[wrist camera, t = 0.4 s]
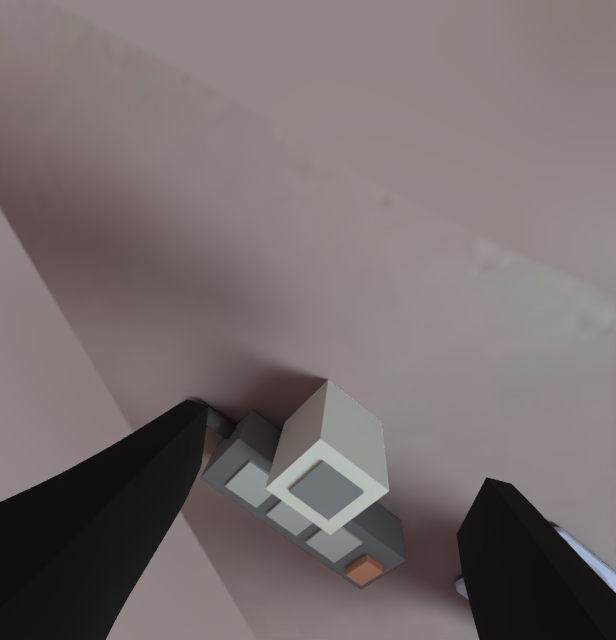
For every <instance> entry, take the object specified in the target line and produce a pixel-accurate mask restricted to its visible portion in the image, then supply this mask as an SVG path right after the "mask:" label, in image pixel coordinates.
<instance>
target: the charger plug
mask: <svg viewBox="0 0 616 640" xmlns="http://www.w3.org/2000/svg"><path fill="white" fill-rule="evenodd" d="M265 489H267V490H268V491H269V492H271V493H272V494H274V495H275V496H276V497H278V498H279V499H281V500H282V501H283V502H285V503H286V504H288V505H289V506H290V507H292V508H293V509H295V510H296V511H297V512H299V513H300V514H302V515H303V516H304V517H306V518H307V519H309V520H310V521H311V522H313V523H314V524H316V525H317V526H318V527H320V528H321V529H323V530H324V531H325V532H327V533H328V534H330V535H331V534H333V533H334V532H335V531H337V530H338V529H339V528H341V527H342V526H343V525H345V524H346V523H347V522H349V521H350V520H351V519H353V518H354V517H355V516H357V515H358V514H359V513H361V512H362V511H363V510H365V509H366V508H367V507H369V506H370V505H371V504H373V503H374V502H375V501H377V500H378V499H379V498H381V497H382V496H383V495H385V494H386V493H387V492H389V484H388V475H387V466H386V457H385V448H384V439H383V430H382V422H381V421H380V420H379V419H377V418H376V417H375V416H374V415H372V414H371V413H370V412H369V411H367V410H366V409H365V408H364V407H362V406H361V405H360V404H359V403H357V402H356V401H355V400H353V399H352V398H351V397H350V396H348V395H347V394H346V393H345V392H343V391H342V390H341V389H340V388H338V387H337V386H336V385H335V384H333V383H332V382H331V381H330V380H327V381H326V382H325V383H324V384H323V385H322V386H321V387H320V388H319V389H318V390H317V391H316V392H315V393H314V394H313V395H312V396H311V397H310V398H309V399H308V400H307V401H306V402H305V403H304V404H303V405H302V406H301V407H300V408H299V409H298V410H297V411H296V412H295V413H294V414H293V415H292V416H291V417H290V418H289V419H288V420H287V421H286V422H284V426H283V429H282V433H281V436H280V440H279V443H278V446H277V450H276V453H275V457H274V460H273V464H272V467H271V470H270V474H269V477H268V481H267V484H266V488H265Z"/></svg>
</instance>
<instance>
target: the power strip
mask: <svg viewBox="0 0 616 640" xmlns="http://www.w3.org/2000/svg"><path fill="white" fill-rule="evenodd" d="M197 403H201V404H205V403H203V402H200V401H198V402H197ZM205 405H206V404H205ZM206 425H207V426H209V427H210V428H211V429H213V430H214V431H216V432H217V433H218V434H220V435H221V436H222V437H224V439H223V440H222V441H221V442H220V443H219V445H218V446H217V447H216V449H215V451H214V453H213V455H212V457H211V458H210V460H209V462H208V464H207V466H206V468H205V470H204V472H203V474H202V476H201V478H202V479H203V480H204V481H206V482H207V483H209V484H210V485H212V486H213V487H214V488H216V489H217V490H219V491H220V492H222V493H223V494H224V495H226V496H227V497H229V498H230V499H232V500H233V501H234V502H236V503H237V504H239V505H240V506H242V507H243V508H245V509H246V510H247V511H249V512H250V513H252V514H253V515H255V516H256V517H257V518H259V519H260V520H262V521H263V522H265V523H266V524H267V525H269V526H270V527H272V528H273V529H275V530H276V531H277V532H279V533H280V534H282V535H283V536H285V537H286V538H288V539H289V540H290V541H292V542H293V543H295V544H296V545H298V546H299V547H300V548H302V549H303V550H305V551H306V552H308V553H309V554H310V555H312V556H313V557H315V558H316V559H318V560H319V561H320V562H322V563H323V564H325V565H326V566H328V567H329V568H331V569H332V570H333V571H335V572H336V573H338V574H339V575H341V576H342V577H343V578H345V579H346V580H348V581H349V582H351V583H352V584H353V585H355V586H356V587H358V588H359V589H362V588H364V587H366V586H367V585H369V584H370V583H372V582H373V581H375V580H376V579H378V578H380V577H381V576H383V575H384V574H386V573H387V572H389V571H391V570H392V569H394V568H395V567H397V566H398V565H400V564H401V563H403V562H405V561H406V556H405V548H404V541H403V534H402V526H401V521H400V520H399V519H398V518H396V517H395V516H394V515H392V514H391V513H390V512H388V511H387V510H386V509H384V508H383V507H382V506H380V505H379V504H378V503H376V502H374V503H373V504H371V505H370V506H369V507H367V508H366V509H365V510H363V511H362V512H361V513H359V514H358V515H357V516H355V517H354V518H353V519H351V520H350V521H349V522H347V523H346V524H345V525H343V526H342V527H341V528H339V529H338V530H337V531H335V532H334V533H333V534H331V535H330V534H328V533H327V532H325V531H324V530H323V529H321V528H320V527H318V526H317V525H316V524H314V523H313V522H311V521H310V520H309V519H307V518H306V517H304V516H303V515H302V514H300V513H299V512H297V511H296V510H295V509H293V508H292V507H290V506H289V505H288V504H286V503H285V502H283V501H282V500H281V499H279V498H278V497H276V496H275V495H274V494H272V493H271V492H269V491H268V490H267V489H265V488H266V484H267V481H268V477H269V474H270V470H271V467H272V464H273V460H274V457H275V453H276V450H277V446H278V443H279V440H280V436H281V433H282V431H280V430H279V429H278V428H276V427H275V426H274V425H272V424H271V423H270V422H268V421H267V420H266V419H264V418H263V417H262V416H260V415H259V414H258V413H256V412H255V411H254V410H251V411H250V412H249V413H248V414H247V415H246V416H245V417H244V418H243V419H242V420H241V421H240V422H239V423H238V424H237V425H236V426H235V425H233V424H232V423H231V422H229V421H228V420H227V419H225V418H224V417H222V416H221V415H220V414H218V413H217V412H216V411H214V410H213V409H212V408H210V407H209V409H208V416H207V424H206Z"/></svg>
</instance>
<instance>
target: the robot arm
mask: <svg viewBox="0 0 616 640" xmlns="http://www.w3.org/2000/svg"><path fill="white" fill-rule="evenodd" d="M208 409H209V405H205V404H201V403H197V402H193V401H190V400H185V401H183V402H181V403H180V404H178V405H177V406H175V407H173V408H172V409H170V410H169V411H167V412H165V413H164V414H162V415H161V416H159V417H158V418H156V419H154V420H153V421H151V422H150V423H148V424H146V425H145V426H143V427H142V428H140V429H138V430H137V431H135V432H133V433H132V434H130V435H128V436H127V437H125V438H124V439H122V440H120V441H118V442H117V443H115V444H113V445H112V446H110V447H108V448H107V449H105V450H103V451H101V452H100V453H98V454H96V455H94V456H92V457H90V458H89V459H87V460H85V461H83V462H81V463H79V464H78V465H76V466H74V467H72V468H70V469H68V470H66V471H65V472H62V473H61V474H59V475H57V476H55V477H53V478H51V479H49V480H47V481H45V482H42V483H40V484H38V485H36V486H34V487H32V488H30V489H28V490H25V491H23V492H21V493H19V494H17V495H15V496H12V497H10V498H8V499H6V500H3V501H1V502H0V640H106V638H107V636H108V634H109V632H110V630H111V628H112V626H113V624H114V622H115V620H116V618H117V616H118V615H119V613H120V611H121V609H122V607H123V606H124V603H125V602H126V600H127V598H128V597H129V595H130V593H131V591H132V590H133V588H134V586H135V585H136V583H137V581H138V580H139V578H140V577H141V575H142V573H143V571H144V570H145V568H146V567H147V565H148V563H149V561H150V560H151V558H152V557H153V555H154V553H155V551H156V550H157V548H158V546H159V545H160V543H161V541H162V540H163V538H164V536H165V535H166V533H167V531H168V530H169V528H170V526H171V525H172V523H173V521H174V520H175V518H176V516H177V514H178V513H179V511H180V509H181V508H182V506H183V504H184V502H185V500H186V498H187V496H188V494H189V492H190V489H191V487H192V485H193V483H194V481H195V479H196V476H197V474H198V472H199V470H200V467H201V463H202V455H203V447H204V440H205V432H206V424H207V416H208ZM457 539H458V547H459V554H460V561H461V567H462V573H463V578H461V579H459V580H458V581H457V582H456V583H455V585H456V589H457V591H458V593H460V594H461V595H463V596H464V597H465V598H467V599H468V600H469V603H470V606H471V610H472V614H473V618H474V621H475V625H476V629H477V632H478V636H479V640H616V572H615V571H613V570H612V569H611V568H610V567H608V566H607V565H606V564H605V563H604V562H602V561H601V560H600V559H599V558H597V557H596V556H595V555H594V554H592V553H591V552H590V551H589V550H588V549H586V548H585V547H584V546H583V545H581V544H580V543H579V542H578V541H577V540H575V539H574V538H573V537H572V536H570V535H569V534H568V533H567V532H565V531H564V530H563V529H562V528H560V527H553V526H552V525H551V524H550V523H549V522H548V521H547V520H546V519H545V518H544V517H543V516H542V515H541V514H540V513H539V511H538V510H537V509H536V508H535V507H534V506H533V505H532V504H531V503H530V502H529V501H528V500H527V499H526V498H525V497H524V496H523V495H522V494H521V493H520V492H519V491H518V490H517V489H516V488H515V487H514V486H513V485H512V484H510V483H507V482H503V481H499V480H495V479H491V478H487V477H486V479H485V481H484V483H483V485H482V487H481V489H480V491H479V493H478V495H477V497H476V498H475V500H474V502H473V504H472V506H471V508H470V510H469V512H468V514H467V516H466V518H465V519H464V521H463V523H462V525H461V527H460V529H459V531H458V533H457Z"/></svg>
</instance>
